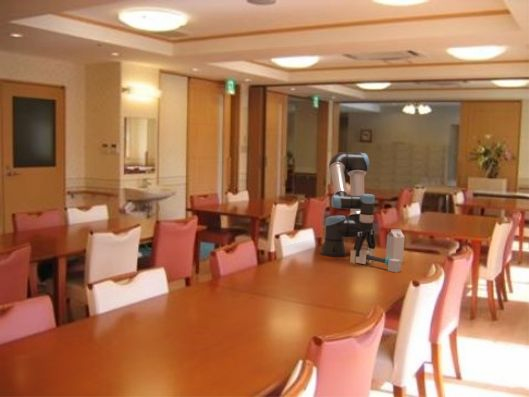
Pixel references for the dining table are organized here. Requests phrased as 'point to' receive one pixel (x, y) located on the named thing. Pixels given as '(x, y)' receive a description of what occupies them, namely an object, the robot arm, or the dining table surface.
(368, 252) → the sleeve
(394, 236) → the milk carton
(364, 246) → the supplement box
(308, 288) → the dining table surface
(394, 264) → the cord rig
